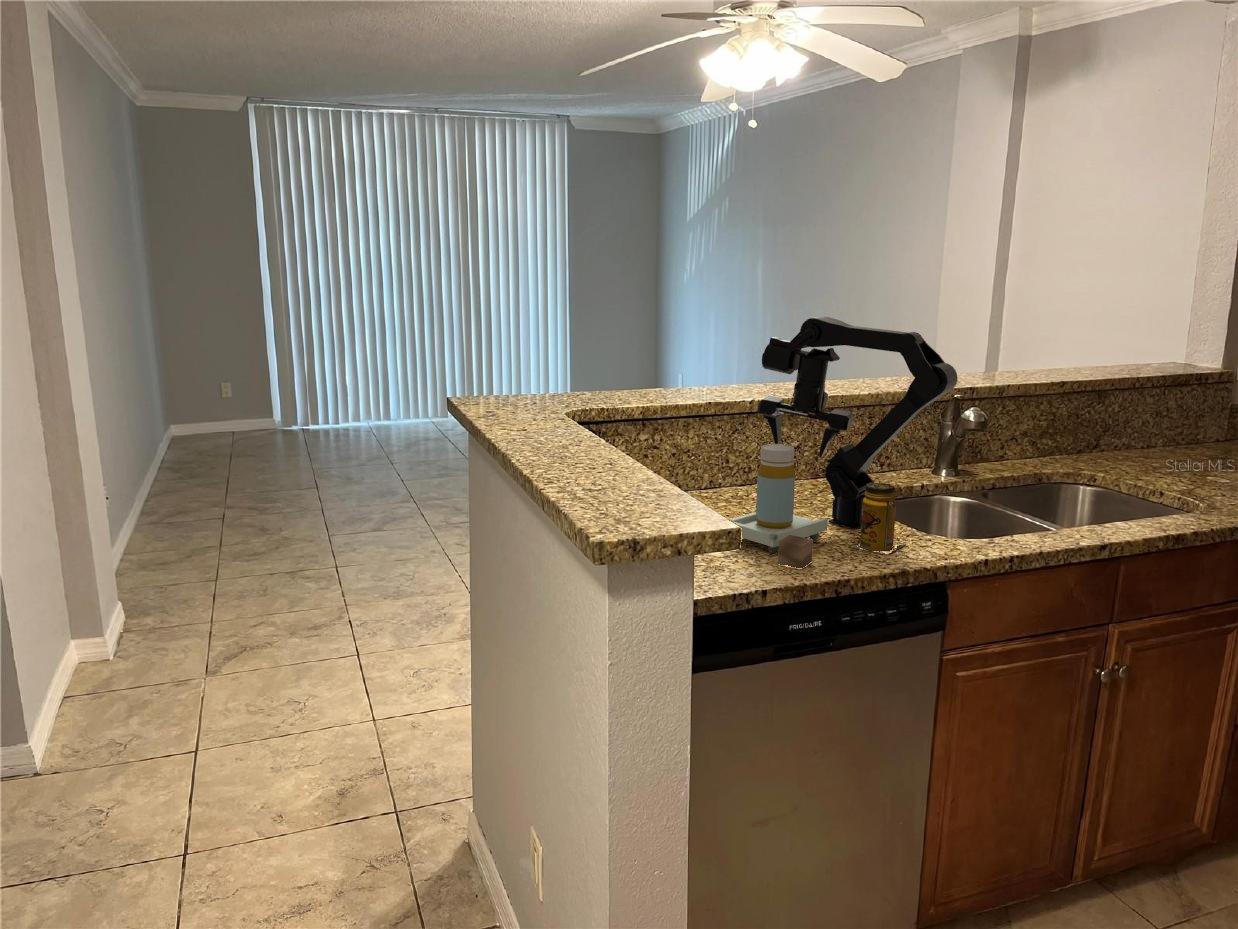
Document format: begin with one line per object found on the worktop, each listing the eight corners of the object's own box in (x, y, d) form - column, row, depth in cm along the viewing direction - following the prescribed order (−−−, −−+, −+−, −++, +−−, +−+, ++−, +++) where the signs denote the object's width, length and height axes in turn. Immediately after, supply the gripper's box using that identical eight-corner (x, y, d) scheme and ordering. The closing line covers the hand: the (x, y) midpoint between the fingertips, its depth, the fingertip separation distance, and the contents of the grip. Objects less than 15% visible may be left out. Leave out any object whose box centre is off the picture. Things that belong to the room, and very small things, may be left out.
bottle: (800, 524, 176) (804, 447, 173) (776, 531, 172) (780, 453, 168) (771, 516, 181) (775, 441, 178) (748, 523, 177) (751, 446, 174)
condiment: (850, 548, 173) (854, 485, 170) (870, 537, 179) (875, 477, 176) (887, 556, 168) (892, 492, 165) (906, 545, 174) (911, 483, 172)
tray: (826, 539, 178) (827, 519, 177) (772, 556, 167) (773, 535, 166) (777, 525, 186) (778, 505, 185) (723, 540, 176) (724, 520, 175)
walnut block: (811, 563, 164) (813, 539, 163) (801, 570, 161) (802, 546, 160) (788, 558, 167) (789, 534, 166) (777, 565, 163) (778, 541, 162)
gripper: (865, 381, 190) (852, 453, 195) (778, 365, 197) (767, 435, 202) (853, 390, 180) (839, 465, 185) (762, 373, 188) (751, 446, 192)
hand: (798, 452), depth 191 cm, fingers open, 9 cm apart
